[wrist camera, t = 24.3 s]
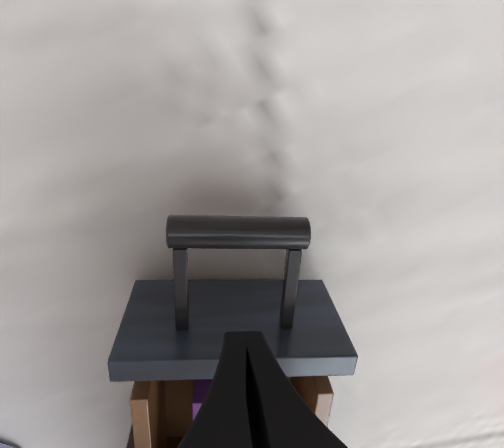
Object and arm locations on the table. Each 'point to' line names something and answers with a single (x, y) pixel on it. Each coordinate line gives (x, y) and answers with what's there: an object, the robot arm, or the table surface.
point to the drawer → (224, 325)
